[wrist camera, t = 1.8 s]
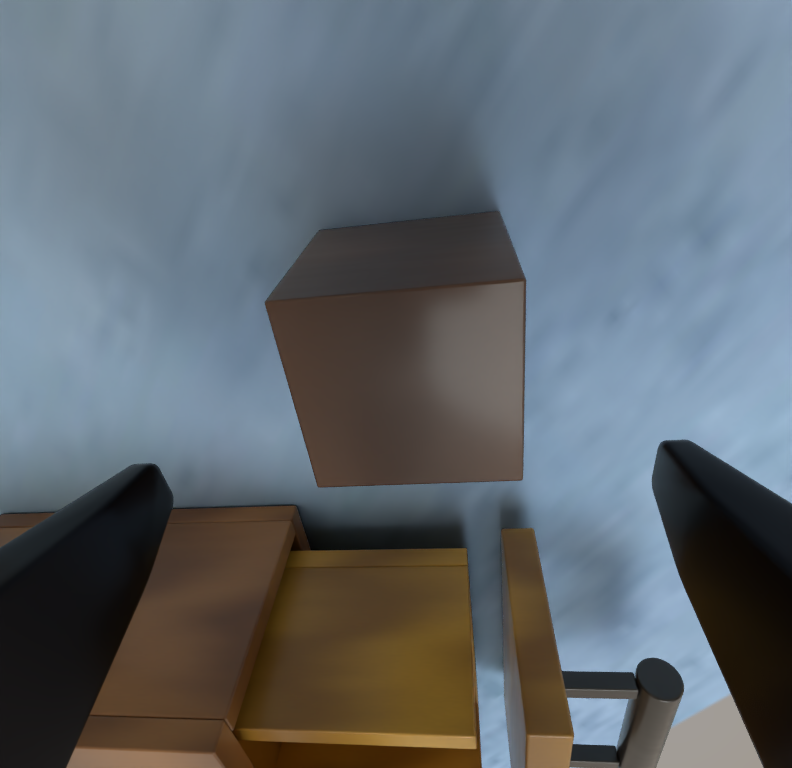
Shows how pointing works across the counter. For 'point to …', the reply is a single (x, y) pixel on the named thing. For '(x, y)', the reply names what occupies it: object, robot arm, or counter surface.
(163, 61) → the counter surface
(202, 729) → the cabinet
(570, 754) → the drawer
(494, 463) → the block
